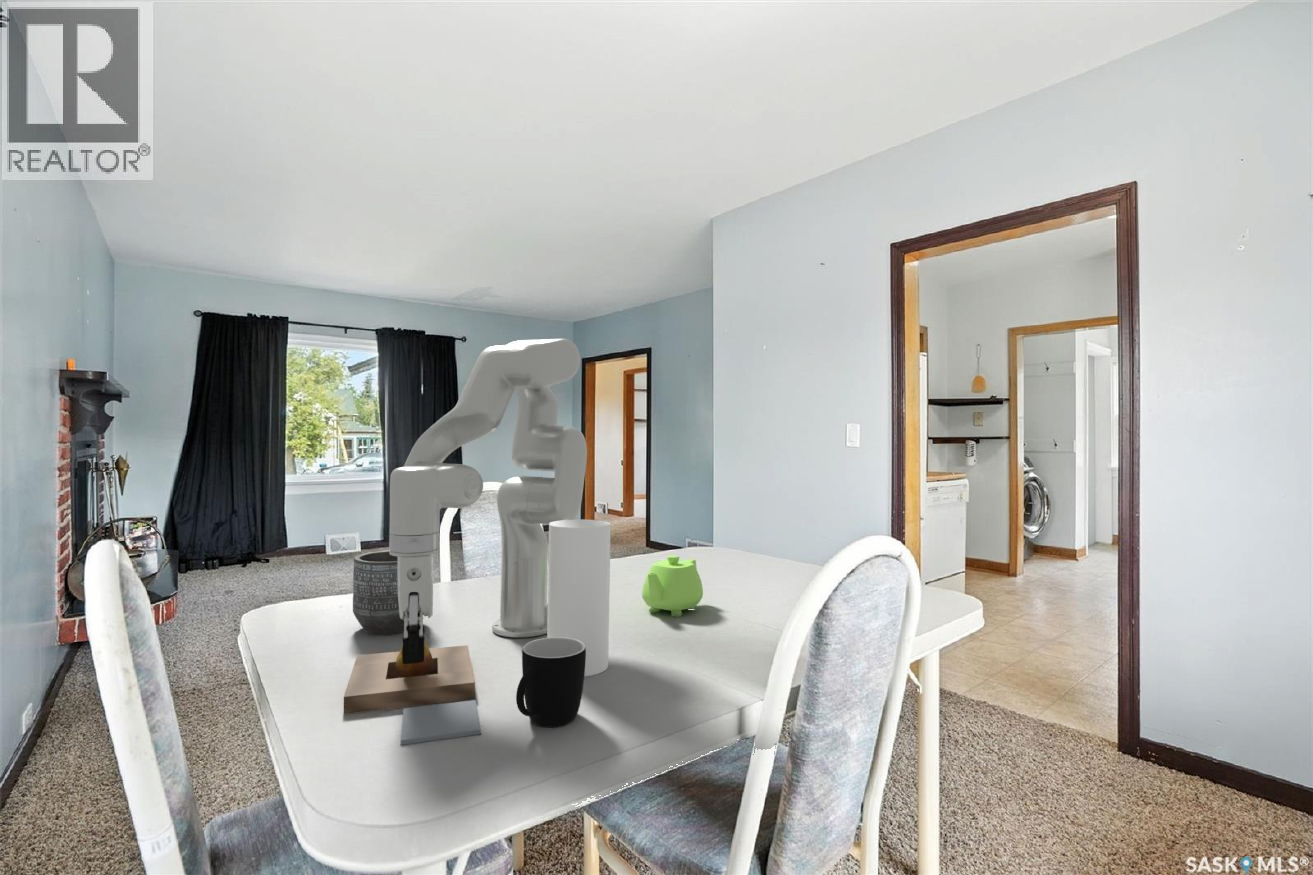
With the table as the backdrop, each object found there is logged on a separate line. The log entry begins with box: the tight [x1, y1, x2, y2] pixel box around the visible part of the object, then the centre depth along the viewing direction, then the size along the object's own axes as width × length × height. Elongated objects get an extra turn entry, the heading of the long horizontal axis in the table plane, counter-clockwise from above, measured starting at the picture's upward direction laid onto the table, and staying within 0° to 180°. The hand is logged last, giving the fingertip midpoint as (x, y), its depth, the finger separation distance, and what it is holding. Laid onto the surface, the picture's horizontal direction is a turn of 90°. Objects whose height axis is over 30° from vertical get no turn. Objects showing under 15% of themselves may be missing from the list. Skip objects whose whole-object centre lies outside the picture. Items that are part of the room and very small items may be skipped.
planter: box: [352, 549, 420, 636], centre depth 131 cm, size 14×14×15 cm
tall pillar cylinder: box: [546, 518, 612, 678], centre depth 111 cm, size 11×11×25 cm
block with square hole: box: [343, 644, 476, 715], centre depth 102 cm, size 18×18×2 cm
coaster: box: [400, 699, 482, 746], centre depth 88 cm, size 10×10×1 cm
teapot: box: [641, 555, 704, 617], centre depth 148 cm, size 20×13×13 cm
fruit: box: [396, 614, 433, 678], centre depth 102 cm, size 6×6×12 cm
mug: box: [515, 637, 586, 728], centre depth 89 cm, size 12×9×10 cm
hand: (413, 655), depth 102 cm, fingers closed on fruit, 5 cm apart
